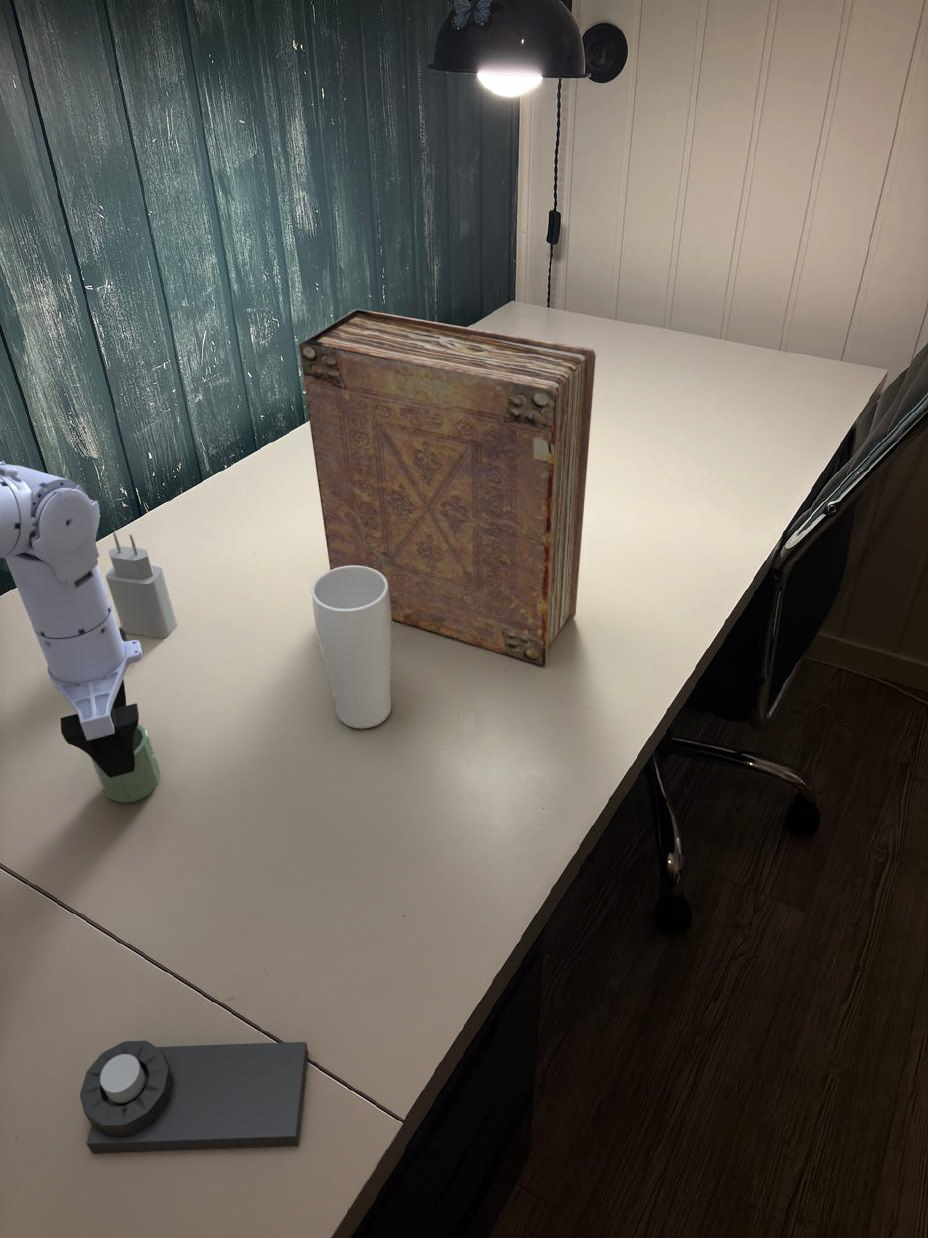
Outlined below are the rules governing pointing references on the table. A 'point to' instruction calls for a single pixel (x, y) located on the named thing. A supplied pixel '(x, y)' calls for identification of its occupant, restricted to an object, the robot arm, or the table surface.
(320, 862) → the table surface
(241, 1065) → the scale
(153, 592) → the power adapter
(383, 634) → the drinking glass
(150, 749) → the green faceted cup
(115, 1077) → the button
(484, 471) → the book
